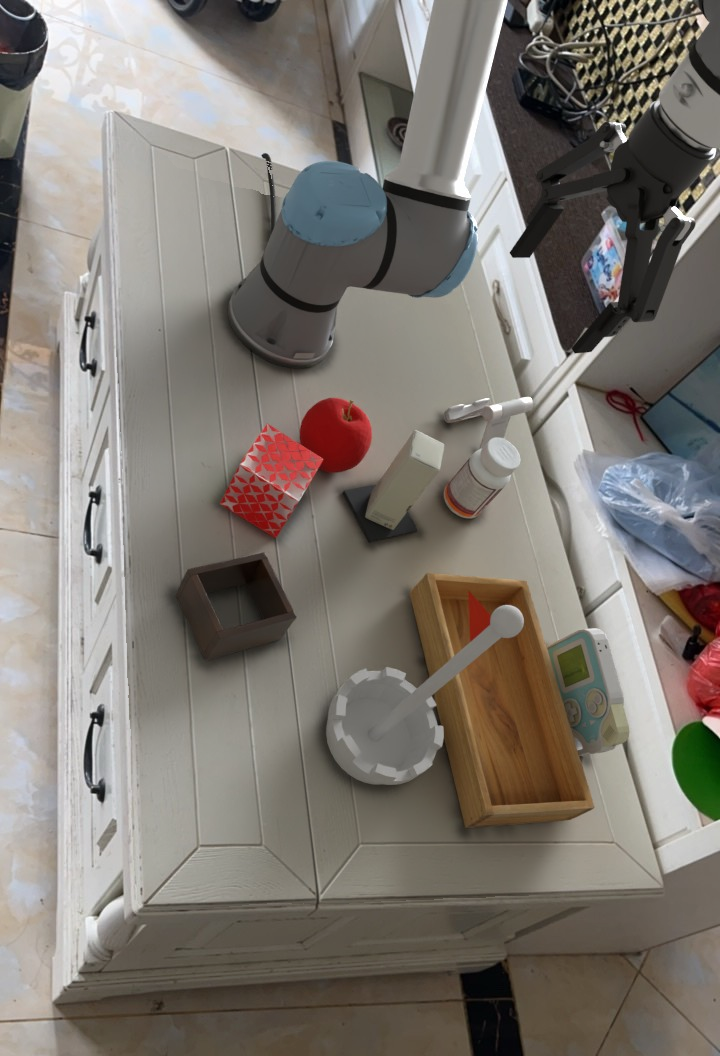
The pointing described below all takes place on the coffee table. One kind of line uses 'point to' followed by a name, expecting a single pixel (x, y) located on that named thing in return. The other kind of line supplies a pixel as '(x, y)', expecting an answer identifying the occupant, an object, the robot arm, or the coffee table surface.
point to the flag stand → (403, 708)
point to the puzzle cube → (271, 480)
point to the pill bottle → (481, 478)
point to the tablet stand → (490, 415)
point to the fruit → (336, 434)
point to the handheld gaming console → (590, 690)
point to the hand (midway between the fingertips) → (549, 302)
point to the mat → (373, 530)
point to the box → (405, 480)
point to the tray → (500, 708)
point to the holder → (228, 575)
